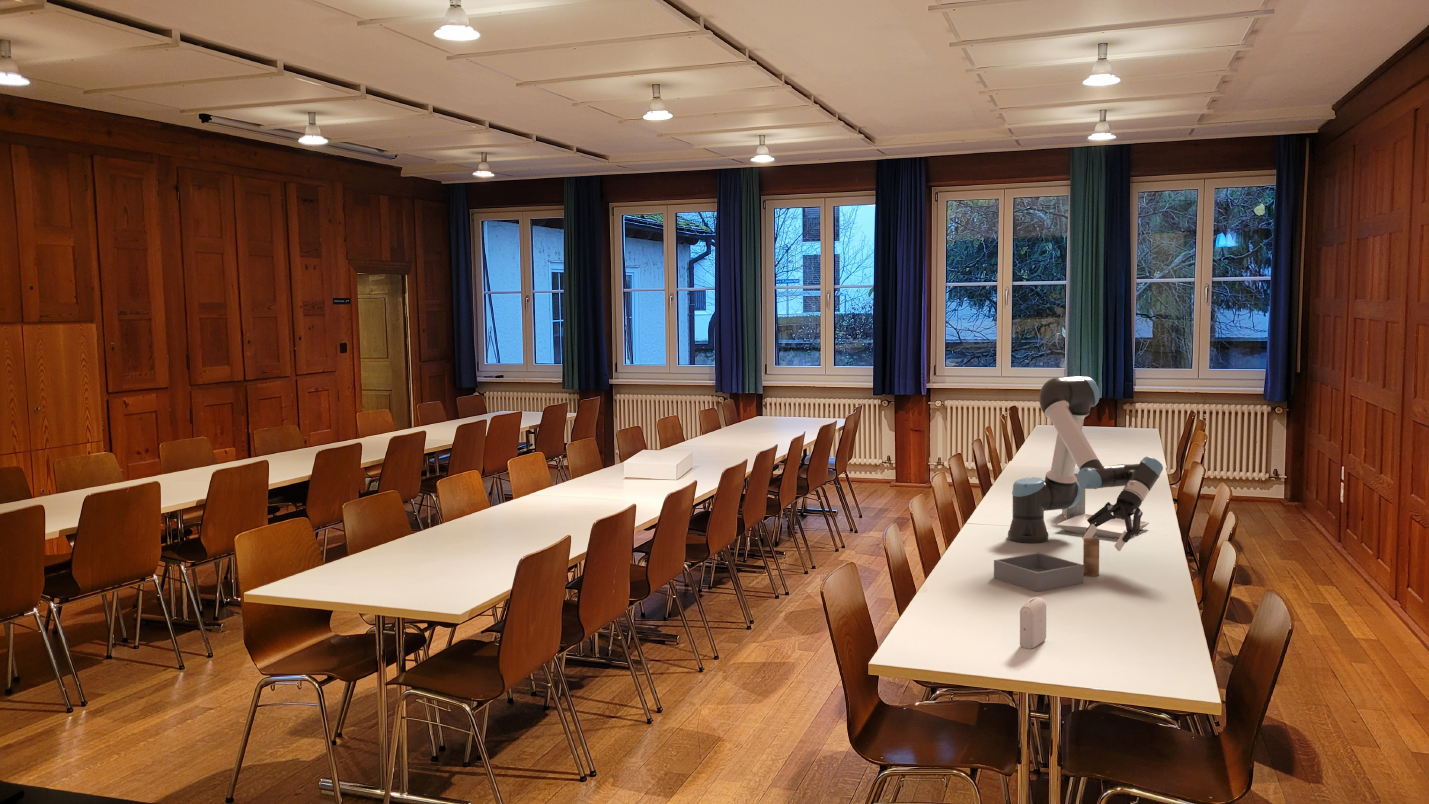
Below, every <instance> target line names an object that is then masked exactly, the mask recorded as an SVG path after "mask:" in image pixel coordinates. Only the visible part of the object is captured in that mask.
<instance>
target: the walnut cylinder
mask: <svg viewBox="0 0 1429 804" xmlns="http://www.w3.org/2000/svg"><path fill="white" fill-rule="evenodd" d="M1082 557H1083V559H1082V561H1083V563H1082V565H1083V576H1086V577H1093V578H1094V577H1099V576H1100V539H1098V538H1094V537H1092V538H1085V539H1084V540H1083V555H1082Z"/></svg>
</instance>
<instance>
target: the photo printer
mask: <svg viewBox="0 0 1429 804" xmlns="http://www.w3.org/2000/svg"><path fill="white" fill-rule="evenodd" d="M1046 639H1047V603H1046V601H1045V599H1044V598H1041V597H1032V598H1031V597H1030V598H1029V599H1027V600H1026V601H1025V602H1024V603H1023V604H1022V606H1021V608H1020V611H1019V645H1020V647H1021V648H1024V649H1030V650H1031V649H1034V648H1036V647H1037V646H1040V644H1042V643H1044V642H1045V641H1046Z"/></svg>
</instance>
